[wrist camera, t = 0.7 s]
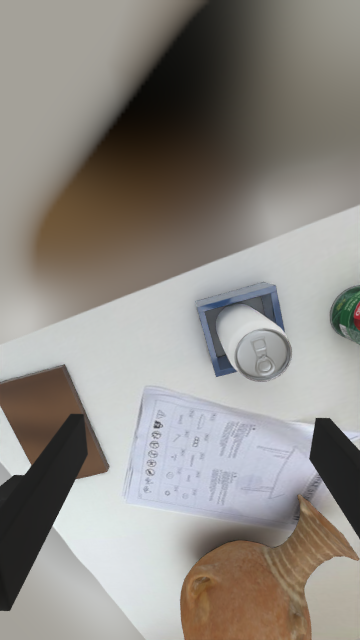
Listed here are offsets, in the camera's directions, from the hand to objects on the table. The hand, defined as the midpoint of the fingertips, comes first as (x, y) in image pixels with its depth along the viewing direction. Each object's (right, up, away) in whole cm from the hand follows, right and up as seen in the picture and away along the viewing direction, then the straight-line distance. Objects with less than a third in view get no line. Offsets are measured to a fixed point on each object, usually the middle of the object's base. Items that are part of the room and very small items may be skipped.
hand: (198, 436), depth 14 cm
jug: (+13, -35, +32) cm, 49 cm away
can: (+7, +6, +22) cm, 24 cm away
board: (-22, -11, +26) cm, 36 cm away
